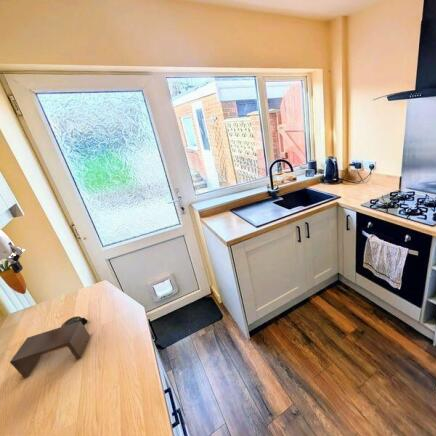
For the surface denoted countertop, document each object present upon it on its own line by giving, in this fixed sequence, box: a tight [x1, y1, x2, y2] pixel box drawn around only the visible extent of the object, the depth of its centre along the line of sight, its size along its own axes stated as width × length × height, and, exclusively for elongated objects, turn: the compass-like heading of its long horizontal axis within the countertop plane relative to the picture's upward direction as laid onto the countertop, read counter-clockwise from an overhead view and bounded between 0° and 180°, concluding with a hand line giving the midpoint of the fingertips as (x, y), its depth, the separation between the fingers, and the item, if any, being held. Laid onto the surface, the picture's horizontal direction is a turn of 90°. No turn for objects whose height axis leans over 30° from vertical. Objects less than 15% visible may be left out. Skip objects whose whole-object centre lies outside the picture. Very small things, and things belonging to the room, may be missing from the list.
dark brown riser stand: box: [9, 321, 91, 379], centre depth 86 cm, size 16×10×8 cm, turn 111°
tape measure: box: [60, 316, 88, 327], centre depth 98 cm, size 7×7×4 cm
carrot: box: [0, 259, 27, 295], centre depth 91 cm, size 5×5×15 cm
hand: (9, 273), depth 90 cm, fingers closed on carrot, 4 cm apart
